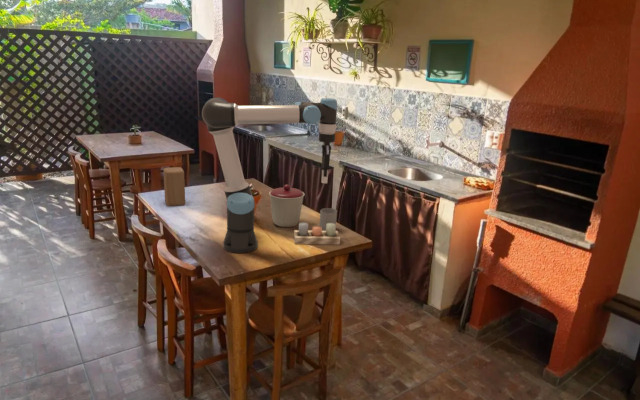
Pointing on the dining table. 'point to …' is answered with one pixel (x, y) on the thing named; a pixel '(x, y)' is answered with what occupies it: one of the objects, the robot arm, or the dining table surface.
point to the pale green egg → (330, 229)
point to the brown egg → (317, 231)
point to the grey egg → (303, 229)
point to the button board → (316, 238)
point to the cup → (327, 217)
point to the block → (174, 186)
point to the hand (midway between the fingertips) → (324, 182)
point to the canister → (286, 205)
